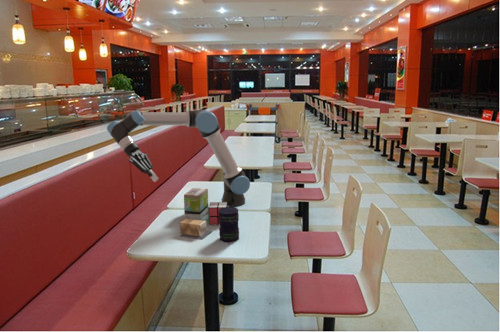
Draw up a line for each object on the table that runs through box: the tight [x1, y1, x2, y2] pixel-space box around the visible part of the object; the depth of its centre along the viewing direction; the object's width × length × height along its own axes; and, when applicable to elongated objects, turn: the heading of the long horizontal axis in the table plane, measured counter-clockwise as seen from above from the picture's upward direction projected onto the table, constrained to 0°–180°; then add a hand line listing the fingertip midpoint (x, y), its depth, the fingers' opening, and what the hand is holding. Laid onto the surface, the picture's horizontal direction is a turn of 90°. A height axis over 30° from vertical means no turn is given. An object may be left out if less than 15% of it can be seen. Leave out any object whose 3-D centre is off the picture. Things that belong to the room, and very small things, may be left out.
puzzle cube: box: [208, 201, 229, 226], centre depth 220 cm, size 10×10×10 cm
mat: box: [179, 229, 213, 240], centre depth 204 cm, size 13×11×1 cm
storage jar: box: [218, 206, 240, 244], centre depth 196 cm, size 10×10×15 cm
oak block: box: [179, 218, 208, 236], centre depth 204 cm, size 6×6×12 cm
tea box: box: [183, 187, 209, 221], centre depth 230 cm, size 15×10×15 cm
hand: (156, 180), depth 209 cm, fingers closed
